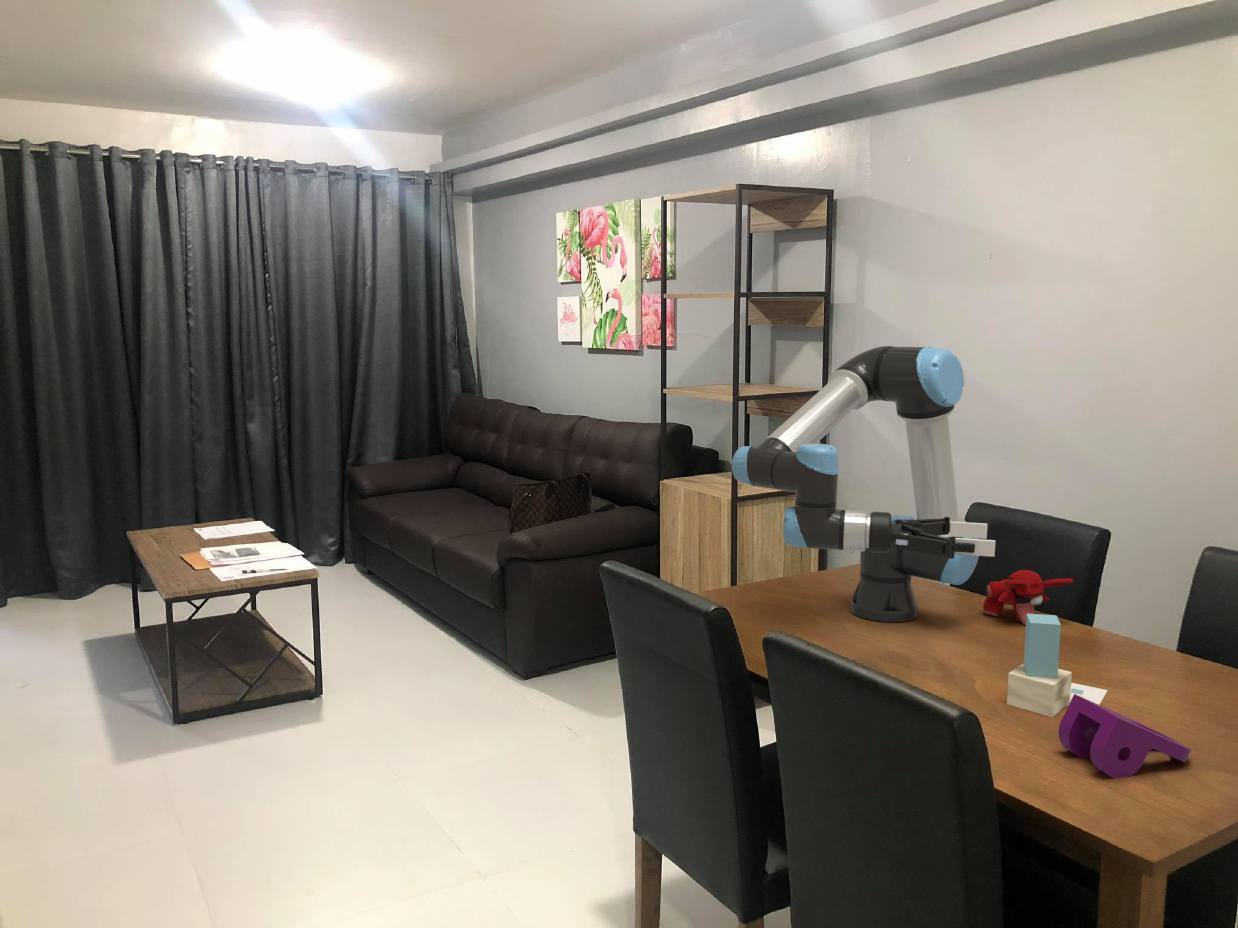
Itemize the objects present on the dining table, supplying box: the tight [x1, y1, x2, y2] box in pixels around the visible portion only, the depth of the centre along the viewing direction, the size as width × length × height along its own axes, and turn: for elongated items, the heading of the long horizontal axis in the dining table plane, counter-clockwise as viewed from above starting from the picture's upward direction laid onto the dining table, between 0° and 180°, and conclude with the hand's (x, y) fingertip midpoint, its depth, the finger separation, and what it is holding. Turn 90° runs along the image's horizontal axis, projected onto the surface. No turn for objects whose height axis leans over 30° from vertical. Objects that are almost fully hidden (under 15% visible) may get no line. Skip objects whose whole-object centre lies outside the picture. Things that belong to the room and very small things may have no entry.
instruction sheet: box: [1066, 682, 1108, 707], centre depth 181 cm, size 12×9×1 cm
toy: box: [982, 569, 1074, 626], centre depth 223 cm, size 16×12×16 cm
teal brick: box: [1023, 613, 1062, 679], centre depth 175 cm, size 5×5×10 cm
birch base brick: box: [1006, 662, 1073, 718], centre depth 176 cm, size 8×8×6 cm
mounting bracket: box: [1058, 694, 1192, 779], centre depth 155 cm, size 10×9×19 cm
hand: (990, 539), depth 175 cm, fingers open, 13 cm apart
